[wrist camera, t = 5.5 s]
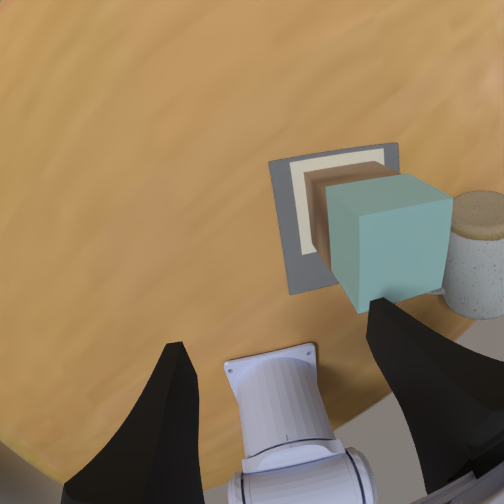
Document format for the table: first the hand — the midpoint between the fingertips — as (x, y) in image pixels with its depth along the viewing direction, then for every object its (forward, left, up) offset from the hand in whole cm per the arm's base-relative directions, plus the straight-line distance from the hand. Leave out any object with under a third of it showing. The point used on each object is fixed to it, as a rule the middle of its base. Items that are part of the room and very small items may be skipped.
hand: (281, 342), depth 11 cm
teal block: (+1, -6, -6) cm, 9 cm away
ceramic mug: (-5, -16, -11) cm, 20 cm away
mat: (-1, -6, -10) cm, 12 cm away
